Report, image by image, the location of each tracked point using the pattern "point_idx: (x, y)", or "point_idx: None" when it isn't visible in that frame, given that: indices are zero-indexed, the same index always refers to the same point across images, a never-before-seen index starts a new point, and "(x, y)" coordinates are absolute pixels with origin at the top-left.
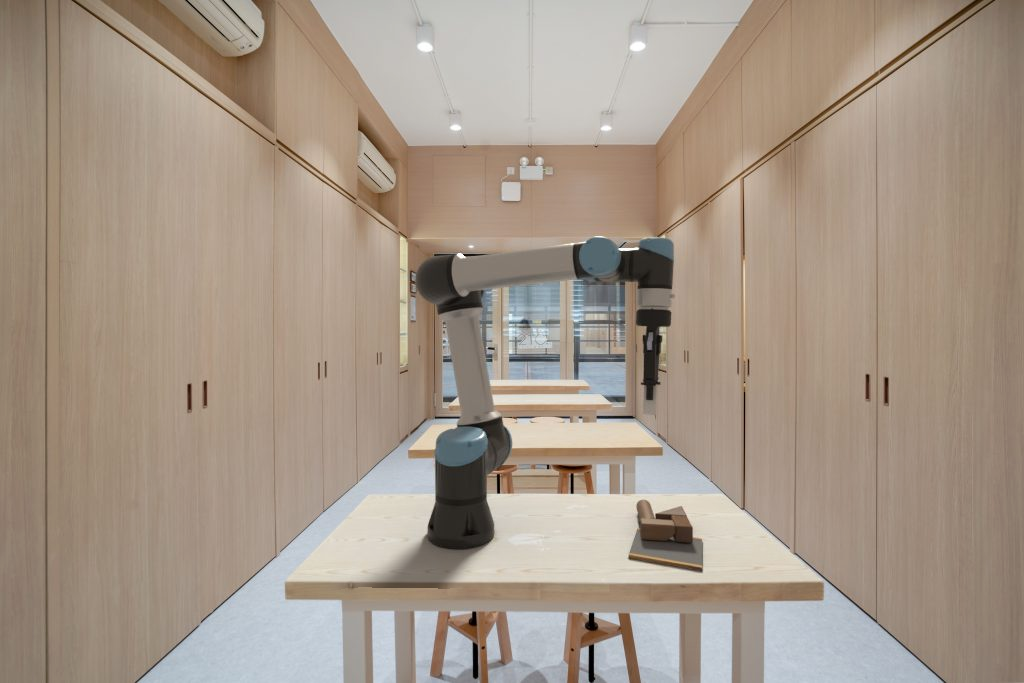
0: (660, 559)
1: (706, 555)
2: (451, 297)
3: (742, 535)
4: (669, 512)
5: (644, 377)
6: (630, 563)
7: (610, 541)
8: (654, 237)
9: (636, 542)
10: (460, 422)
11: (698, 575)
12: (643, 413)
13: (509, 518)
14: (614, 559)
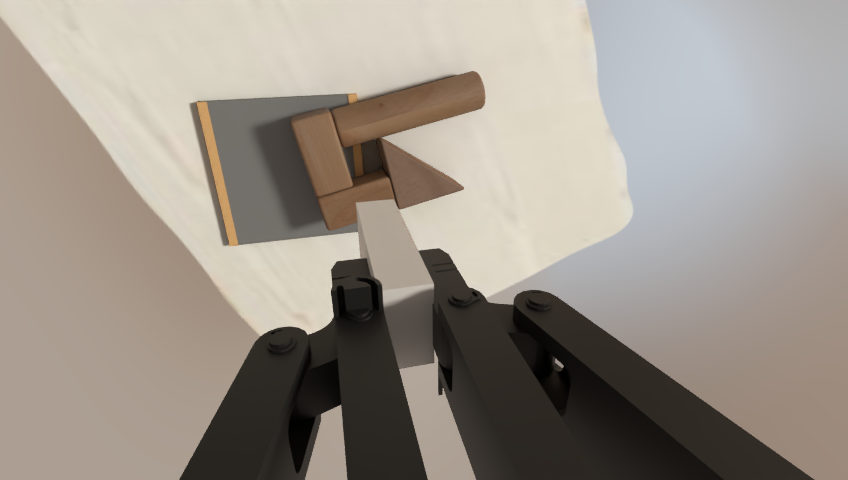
0: (215, 171)
1: (305, 242)
2: None
3: None
4: (403, 171)
5: (238, 380)
6: (174, 110)
7: (262, 39)
8: None
9: (275, 106)
10: None
11: (209, 240)
12: (356, 206)
13: None
14: (170, 71)
